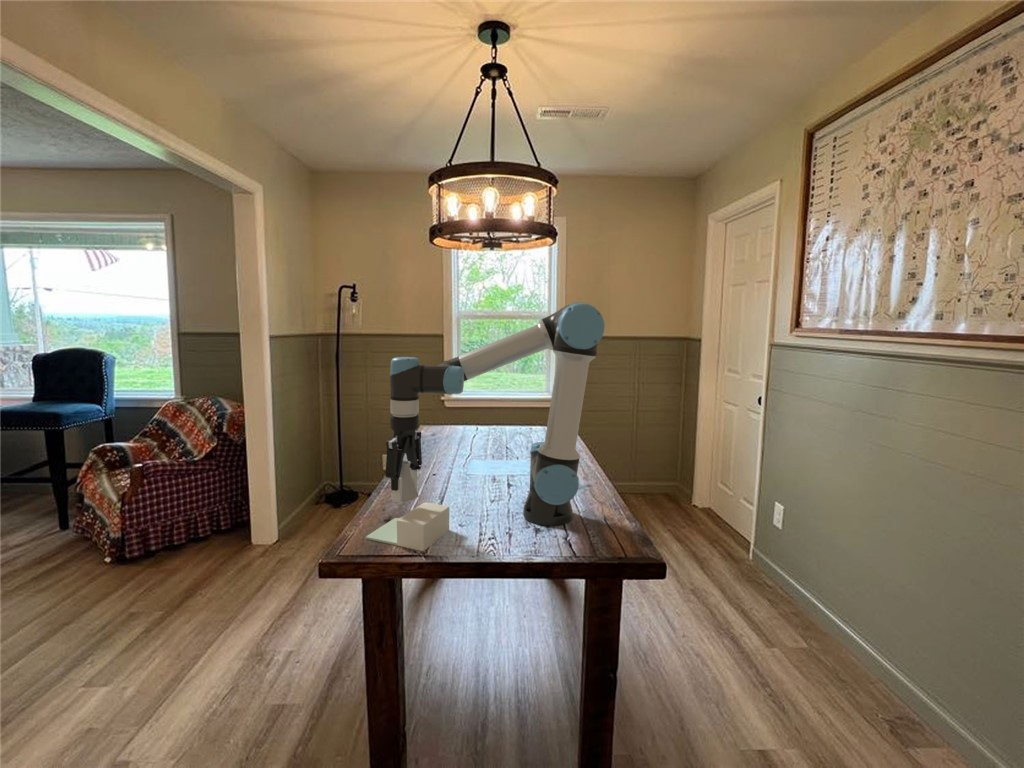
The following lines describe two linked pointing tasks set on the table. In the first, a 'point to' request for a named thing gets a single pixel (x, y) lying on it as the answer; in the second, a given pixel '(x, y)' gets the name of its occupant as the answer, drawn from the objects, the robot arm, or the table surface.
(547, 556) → the table surface
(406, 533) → the block
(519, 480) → the table surface
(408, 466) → the flask
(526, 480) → the table surface
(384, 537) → the mat
